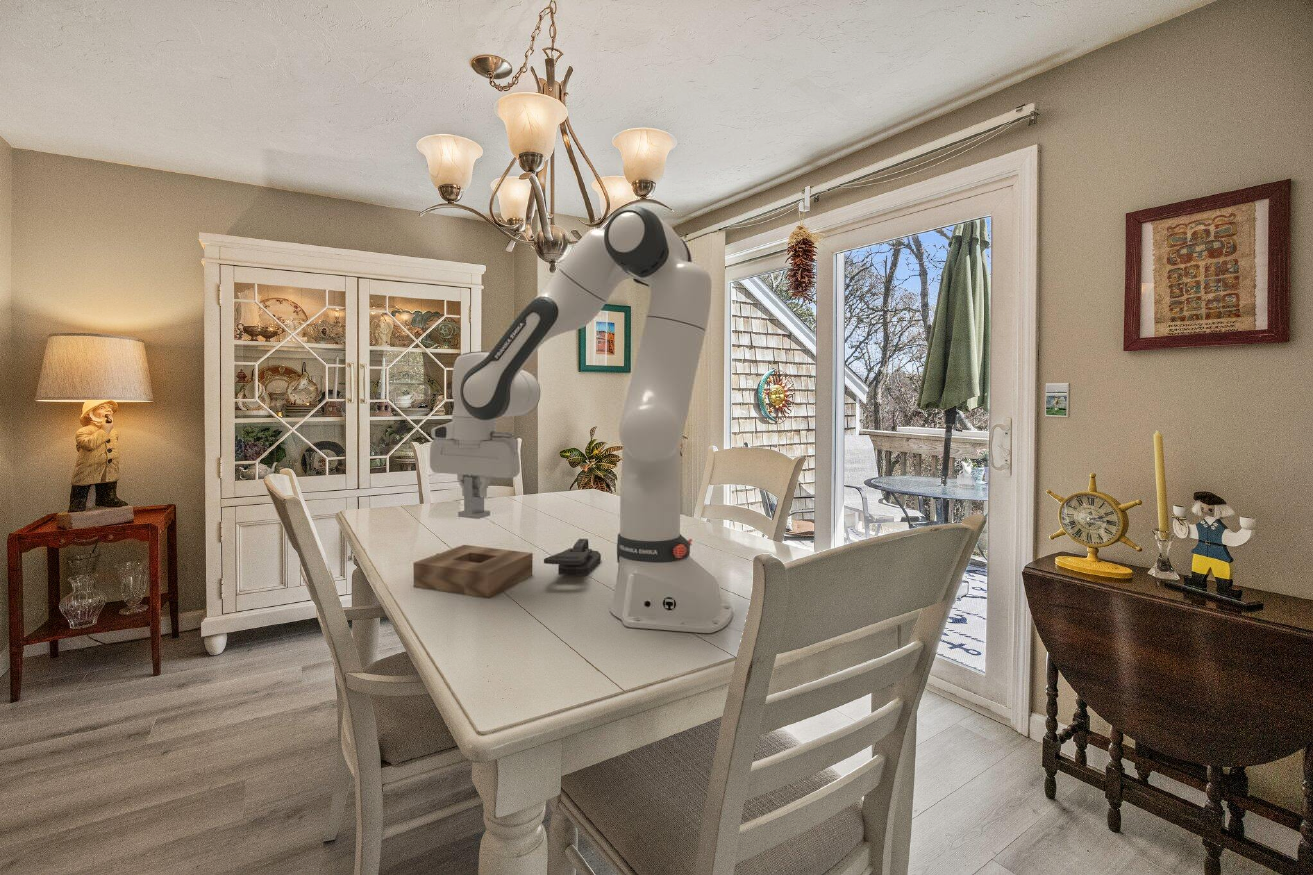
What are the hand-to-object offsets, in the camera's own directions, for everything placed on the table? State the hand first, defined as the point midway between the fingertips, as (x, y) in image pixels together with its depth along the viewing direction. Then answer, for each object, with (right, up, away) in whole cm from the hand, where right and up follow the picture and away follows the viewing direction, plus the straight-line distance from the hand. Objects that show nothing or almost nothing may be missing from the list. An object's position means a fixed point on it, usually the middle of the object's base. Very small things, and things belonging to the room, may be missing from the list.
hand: (474, 496), depth 127 cm
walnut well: (0, -18, +1) cm, 18 cm away
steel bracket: (0, -4, 0) cm, 4 cm away
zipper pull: (+20, -18, +8) cm, 28 cm away
